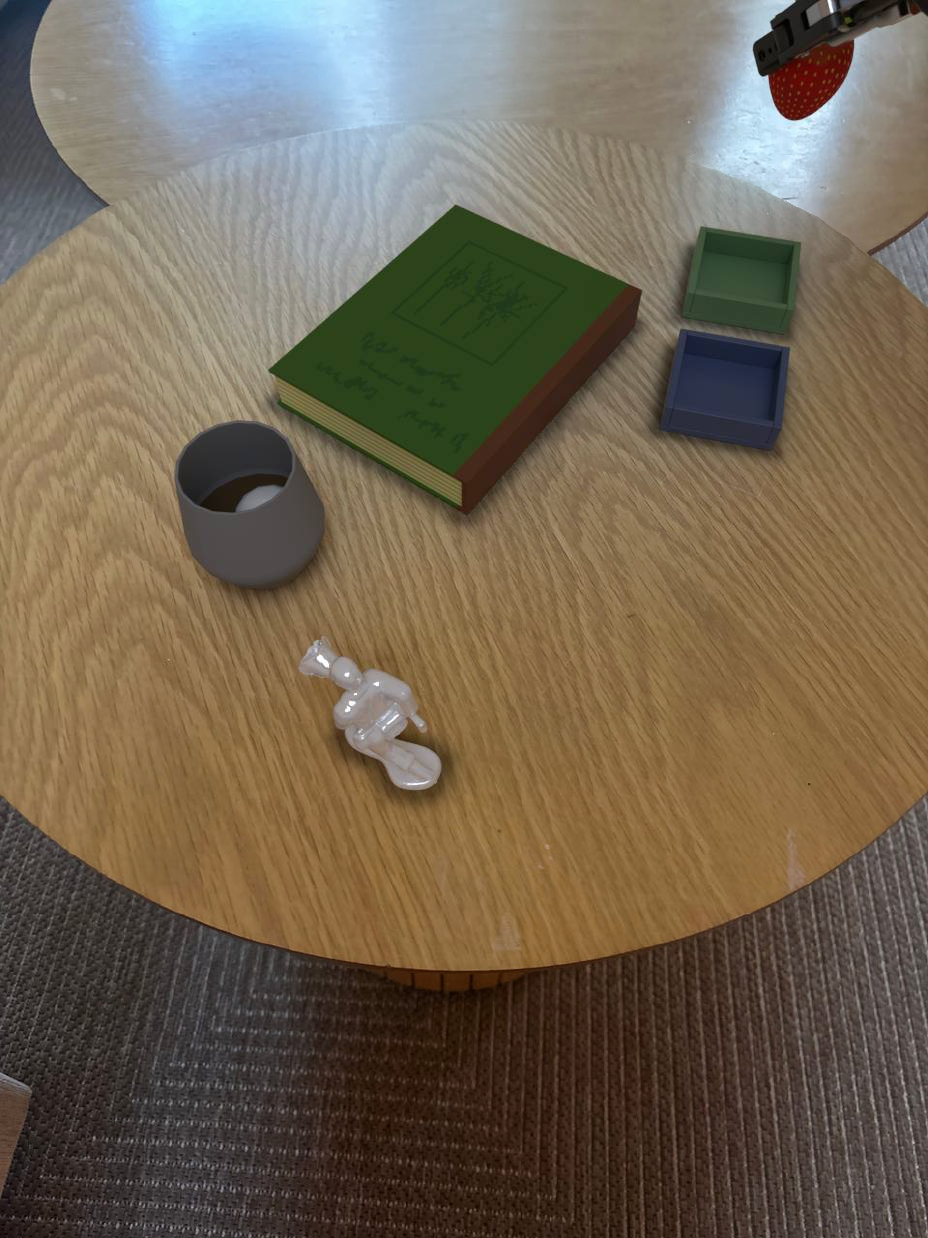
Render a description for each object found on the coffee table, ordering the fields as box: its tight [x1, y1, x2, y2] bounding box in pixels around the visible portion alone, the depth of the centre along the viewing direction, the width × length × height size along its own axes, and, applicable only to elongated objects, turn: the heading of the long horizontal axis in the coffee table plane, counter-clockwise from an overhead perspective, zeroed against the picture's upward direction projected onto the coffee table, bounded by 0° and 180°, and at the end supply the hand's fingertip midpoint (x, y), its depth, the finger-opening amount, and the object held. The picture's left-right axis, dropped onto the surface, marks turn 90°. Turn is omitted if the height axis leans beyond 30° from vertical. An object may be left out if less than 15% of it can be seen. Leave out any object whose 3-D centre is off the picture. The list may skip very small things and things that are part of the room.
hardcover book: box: [268, 204, 643, 516], centre depth 71 cm, size 25×19×4 cm
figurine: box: [297, 635, 443, 791], centre depth 51 cm, size 5×9×12 cm, turn 63°
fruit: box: [767, 0, 855, 122], centre depth 60 cm, size 5×5×8 cm
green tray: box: [680, 225, 802, 335], centre depth 76 cm, size 9×9×3 cm
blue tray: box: [658, 328, 791, 452], centre depth 70 cm, size 9×9×3 cm
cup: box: [173, 419, 326, 591], centre depth 59 cm, size 10×9×10 cm
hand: (792, 46), depth 60 cm, fingers closed on fruit, 5 cm apart
